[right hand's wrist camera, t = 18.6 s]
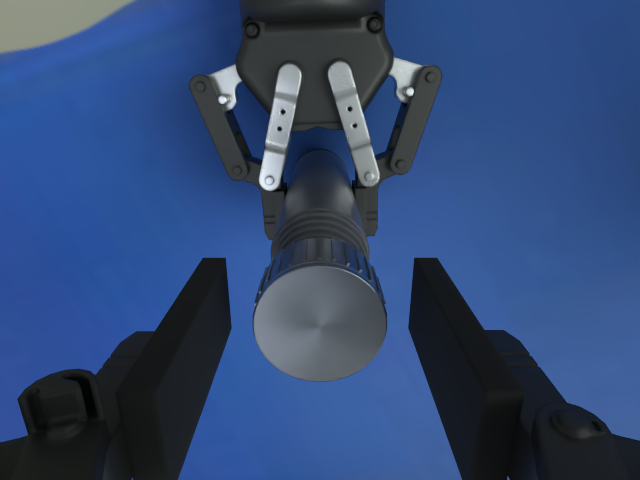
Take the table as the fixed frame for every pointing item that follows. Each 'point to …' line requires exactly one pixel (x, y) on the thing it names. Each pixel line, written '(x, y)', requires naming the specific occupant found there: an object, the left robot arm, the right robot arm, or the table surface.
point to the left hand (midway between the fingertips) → (322, 241)
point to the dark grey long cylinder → (320, 205)
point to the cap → (319, 311)
